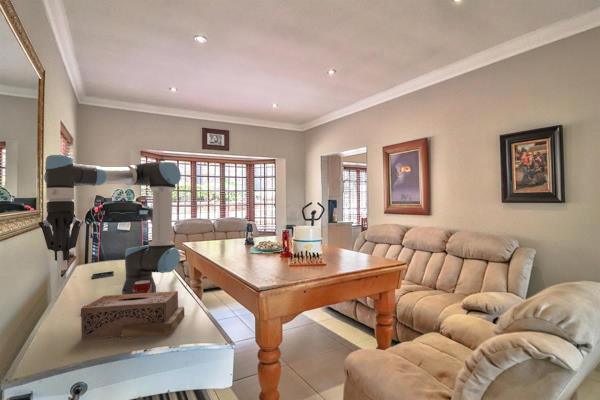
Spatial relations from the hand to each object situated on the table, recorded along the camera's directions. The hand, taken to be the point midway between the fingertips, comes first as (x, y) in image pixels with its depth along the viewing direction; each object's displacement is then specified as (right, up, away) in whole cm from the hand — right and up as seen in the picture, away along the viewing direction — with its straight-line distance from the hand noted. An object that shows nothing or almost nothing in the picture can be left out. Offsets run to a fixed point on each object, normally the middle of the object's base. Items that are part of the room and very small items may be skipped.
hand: (62, 269), depth 105 cm
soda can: (+18, -21, +18) cm, 33 cm away
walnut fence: (+31, -20, +2) cm, 37 cm away
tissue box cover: (+24, -21, +1) cm, 31 cm away
